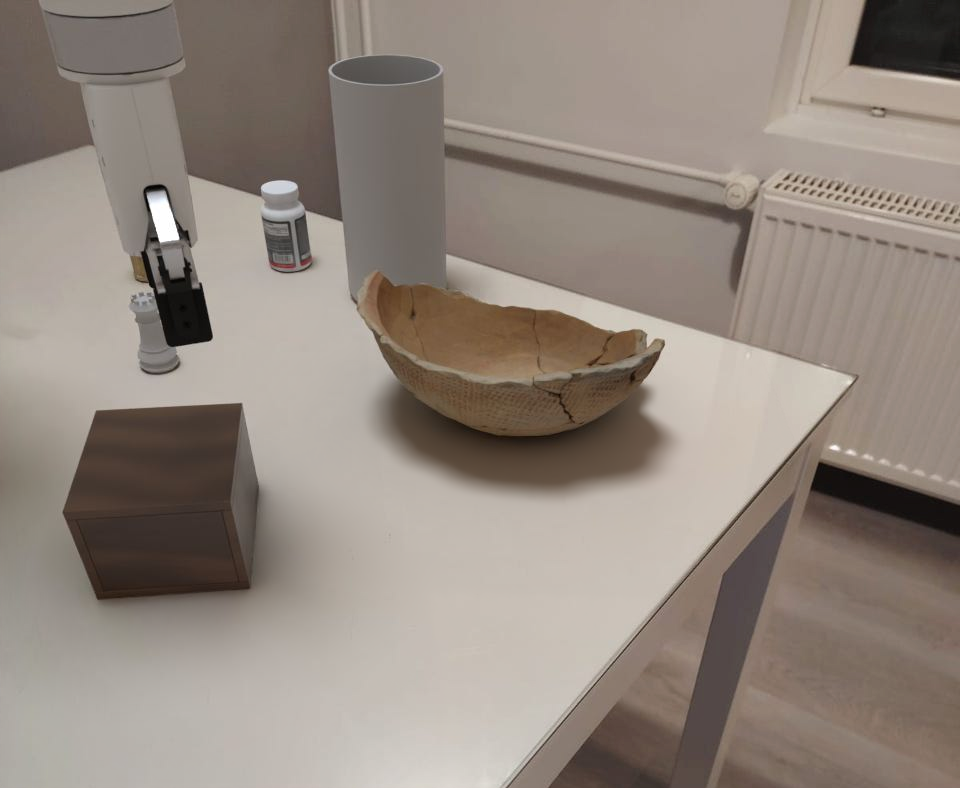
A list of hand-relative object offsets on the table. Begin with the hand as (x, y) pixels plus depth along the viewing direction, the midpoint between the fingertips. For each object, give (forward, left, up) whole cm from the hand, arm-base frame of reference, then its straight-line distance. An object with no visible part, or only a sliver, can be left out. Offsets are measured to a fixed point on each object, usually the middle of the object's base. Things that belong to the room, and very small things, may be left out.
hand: (180, 312), depth 66 cm
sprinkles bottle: (-14, +55, -21) cm, 61 cm away
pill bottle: (+4, +57, -21) cm, 61 cm away
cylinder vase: (+18, +47, -21) cm, 55 cm away
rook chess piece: (-10, +31, -21) cm, 39 cm away
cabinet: (-4, -1, -21) cm, 21 cm away
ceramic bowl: (+28, +18, -21) cm, 39 cm away
